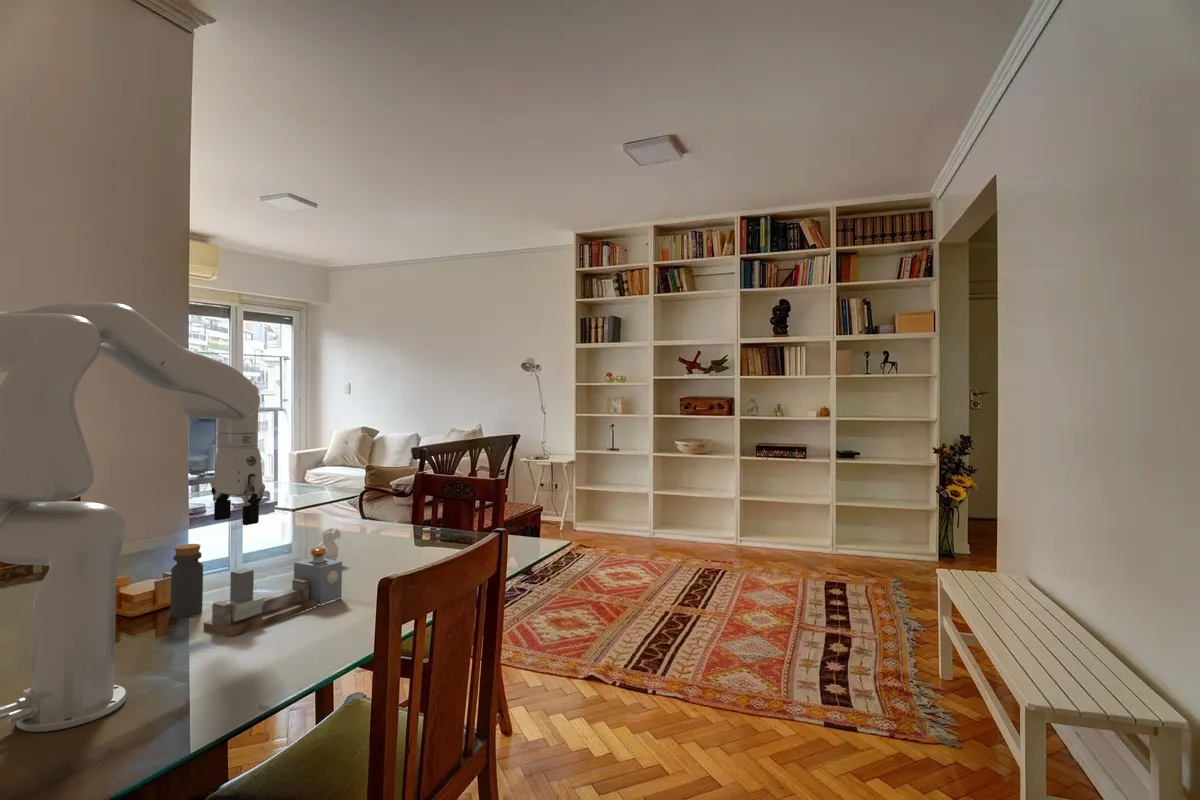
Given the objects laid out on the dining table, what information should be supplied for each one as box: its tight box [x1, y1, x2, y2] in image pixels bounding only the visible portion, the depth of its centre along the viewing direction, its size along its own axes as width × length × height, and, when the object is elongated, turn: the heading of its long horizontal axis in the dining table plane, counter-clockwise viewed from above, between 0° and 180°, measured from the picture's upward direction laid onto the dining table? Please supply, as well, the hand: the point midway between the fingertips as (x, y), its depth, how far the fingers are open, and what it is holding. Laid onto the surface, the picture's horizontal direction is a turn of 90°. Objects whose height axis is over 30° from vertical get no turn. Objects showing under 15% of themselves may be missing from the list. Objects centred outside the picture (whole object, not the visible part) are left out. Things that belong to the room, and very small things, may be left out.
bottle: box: [169, 543, 204, 619], centre depth 133 cm, size 6×6×15 cm
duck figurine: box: [316, 526, 342, 560], centre depth 177 cm, size 12×8×11 cm
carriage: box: [220, 567, 265, 621], centre depth 127 cm, size 6×6×9 cm
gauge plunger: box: [310, 547, 326, 564], centre depth 144 cm, size 3×3×6 cm
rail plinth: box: [203, 578, 317, 638], centre depth 132 cm, size 20×9×6 cm, turn 155°
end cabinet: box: [293, 557, 343, 605], centre depth 144 cm, size 6×9×9 cm, turn 65°
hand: (236, 521), depth 129 cm, fingers open, 9 cm apart
